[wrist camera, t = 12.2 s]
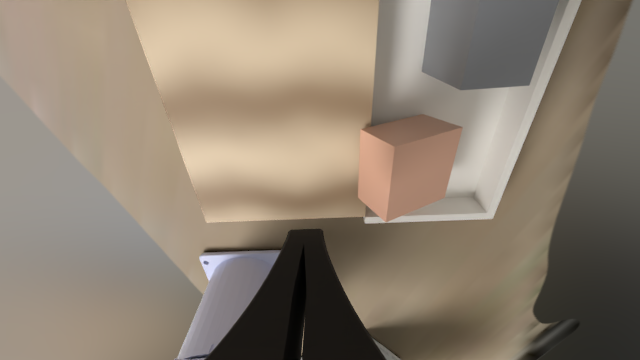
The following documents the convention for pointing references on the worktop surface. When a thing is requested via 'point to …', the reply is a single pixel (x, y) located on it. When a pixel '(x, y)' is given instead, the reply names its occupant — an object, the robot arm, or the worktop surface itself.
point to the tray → (458, 109)
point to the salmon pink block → (406, 164)
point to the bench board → (265, 100)
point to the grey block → (486, 41)
